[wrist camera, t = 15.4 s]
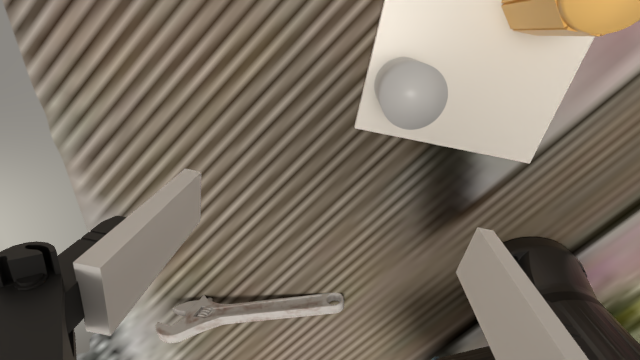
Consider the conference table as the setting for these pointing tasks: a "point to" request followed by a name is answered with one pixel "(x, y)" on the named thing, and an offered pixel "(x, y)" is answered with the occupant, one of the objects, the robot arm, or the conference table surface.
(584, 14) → the wire cap
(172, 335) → the wrench
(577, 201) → the conference table surface
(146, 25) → the conference table surface
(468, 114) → the plate
